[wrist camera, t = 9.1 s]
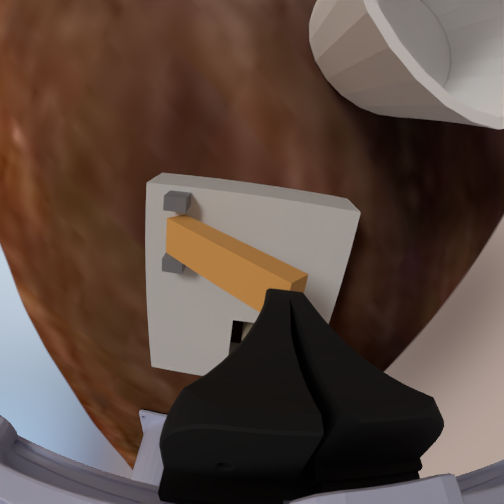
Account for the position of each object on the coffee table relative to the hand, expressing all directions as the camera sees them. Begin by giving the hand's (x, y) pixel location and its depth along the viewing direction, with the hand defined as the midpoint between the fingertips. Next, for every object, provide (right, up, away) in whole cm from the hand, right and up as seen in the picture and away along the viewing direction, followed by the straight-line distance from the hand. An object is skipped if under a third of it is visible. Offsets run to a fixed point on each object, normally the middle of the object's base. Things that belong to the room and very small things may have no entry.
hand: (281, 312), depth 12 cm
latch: (-2, +2, +4) cm, 5 cm away
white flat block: (-2, 0, +11) cm, 11 cm away
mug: (+8, +15, +4) cm, 18 cm away
